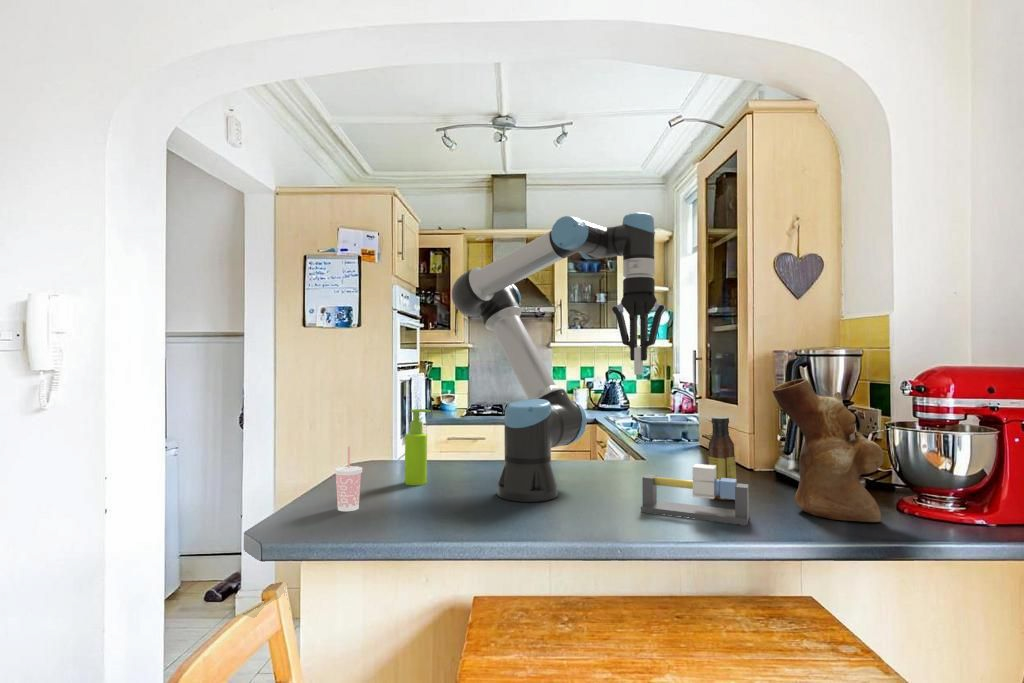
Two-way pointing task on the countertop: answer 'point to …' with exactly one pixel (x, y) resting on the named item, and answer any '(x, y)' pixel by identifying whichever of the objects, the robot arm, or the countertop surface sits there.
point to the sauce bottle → (722, 451)
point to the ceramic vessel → (830, 455)
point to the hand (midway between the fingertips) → (638, 374)
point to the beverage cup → (348, 486)
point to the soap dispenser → (416, 452)
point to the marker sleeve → (704, 480)
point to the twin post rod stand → (721, 488)
